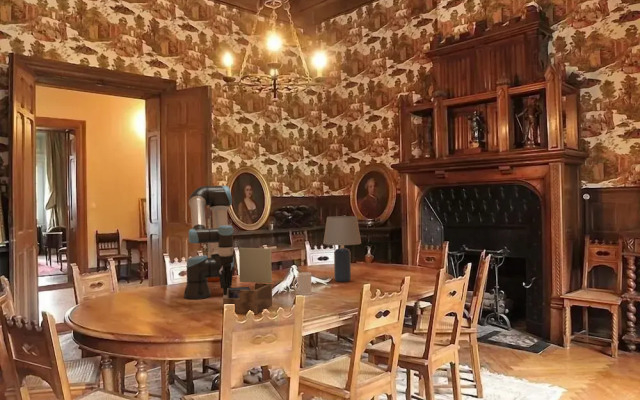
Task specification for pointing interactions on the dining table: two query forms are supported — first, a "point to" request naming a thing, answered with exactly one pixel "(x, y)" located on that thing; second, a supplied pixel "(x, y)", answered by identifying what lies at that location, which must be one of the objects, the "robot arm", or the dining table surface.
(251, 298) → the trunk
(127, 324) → the dining table surface
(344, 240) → the lamp
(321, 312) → the dining table surface
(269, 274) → the lid
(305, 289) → the mug
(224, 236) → the robot arm
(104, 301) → the dining table surface
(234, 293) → the small box
